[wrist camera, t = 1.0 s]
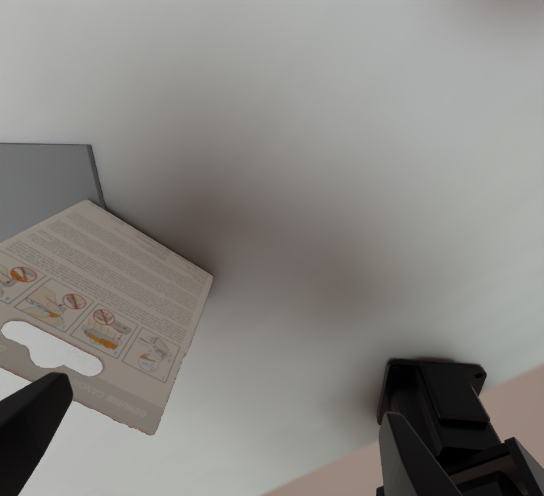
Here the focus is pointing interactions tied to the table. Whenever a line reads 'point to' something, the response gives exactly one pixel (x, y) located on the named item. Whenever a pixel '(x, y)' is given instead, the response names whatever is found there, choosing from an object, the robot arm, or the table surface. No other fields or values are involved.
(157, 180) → the table surface
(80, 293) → the ink box
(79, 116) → the table surface
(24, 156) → the slate mat
